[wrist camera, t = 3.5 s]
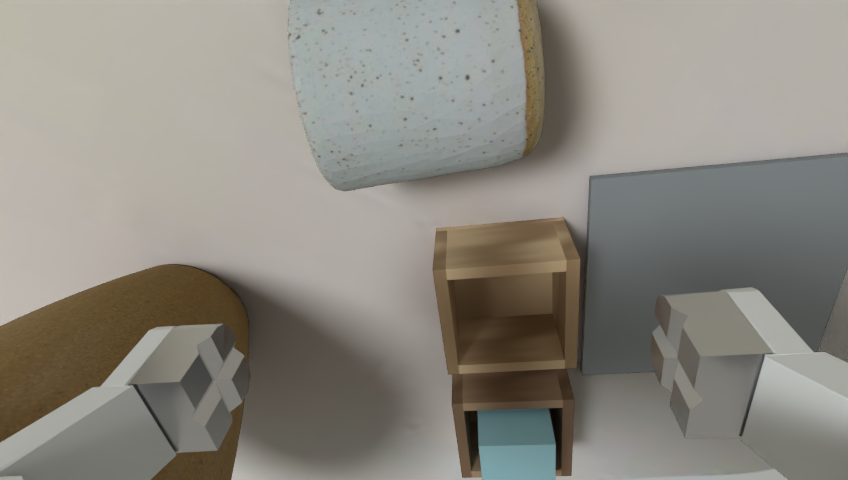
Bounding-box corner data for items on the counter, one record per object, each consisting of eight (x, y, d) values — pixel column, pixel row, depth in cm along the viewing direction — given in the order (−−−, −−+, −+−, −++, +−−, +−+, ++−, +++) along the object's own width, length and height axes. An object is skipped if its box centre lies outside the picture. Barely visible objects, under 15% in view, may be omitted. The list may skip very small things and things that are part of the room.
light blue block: (540, 367, 30) (555, 444, 25) (541, 412, 32) (555, 491, 27) (476, 370, 30) (478, 446, 25) (480, 413, 32) (483, 492, 27)
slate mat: (882, 149, 22) (889, 152, 22) (807, 360, 28) (811, 365, 28) (589, 176, 23) (591, 179, 23) (580, 370, 30) (582, 374, 29)
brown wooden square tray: (560, 345, 29) (574, 399, 26) (559, 418, 33) (571, 475, 29) (452, 350, 30) (451, 403, 27) (462, 421, 33) (462, 477, 30)
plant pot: (347, 374, 31) (258, 699, 18) (156, 410, 34) (-47, 711, 21) (237, 168, 24) (-51, 436, 11) (12, 237, 28) (-438, 512, 14)
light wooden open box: (562, 215, 25) (580, 259, 21) (561, 315, 28) (576, 367, 24) (436, 226, 26) (432, 270, 22) (449, 322, 29) (448, 374, 25)
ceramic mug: (527, 130, 23) (556, 196, 16) (359, 154, 24) (320, 225, 17) (509, -152, 18) (539, -230, 11) (298, -104, 19) (206, -148, 12)
